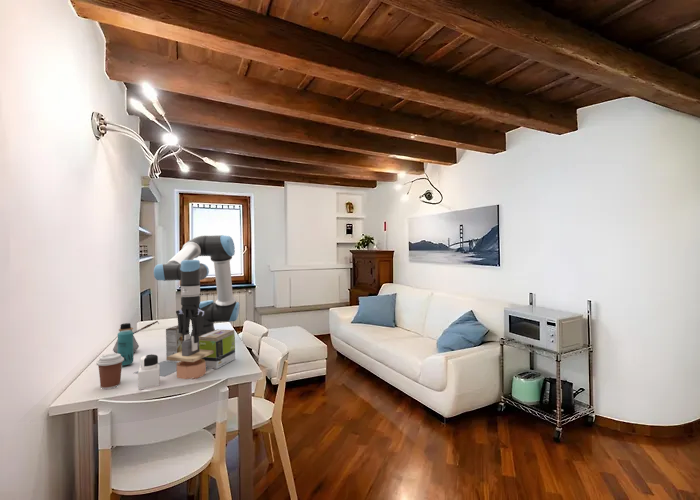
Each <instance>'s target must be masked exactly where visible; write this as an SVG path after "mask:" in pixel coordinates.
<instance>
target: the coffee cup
mask: <svg viewBox="0 0 700 500" xmlns="http://www.w3.org/2000/svg"><path fill="white" fill-rule="evenodd" d="M123 361H124V358H123V357H122V356H121V354H118V353H115V352H114V353H108V354H104V355H102V356H101V355H100V357H99V359H98V360H97V361H96V364H95V365H96V366H98V375H99V384H100V389H101V388H102V389H101V390H109V389H108V388H111V389H114V387H115V388H116V387H117V386H119V385H120V384H121V376H122V368H123V365H122V362H123ZM117 388H118V387H117Z"/></svg>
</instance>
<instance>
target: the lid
mask: <svg viewBox="0 0 700 500" xmlns="http://www.w3.org/2000/svg"><path fill="white" fill-rule="evenodd" d="M213 353H214V350H202V349H199V342H198V343H197V350H195V351H192V338H191V339H188V340H185V341H182V351H181V352H178V353H176V354H173V355H170V356H168V357H167V360H174V361H173V362H180V361H185V362H195V361H197V360H199V359H201V358H204V357H206V356H208V355H210V354H213Z"/></svg>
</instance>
